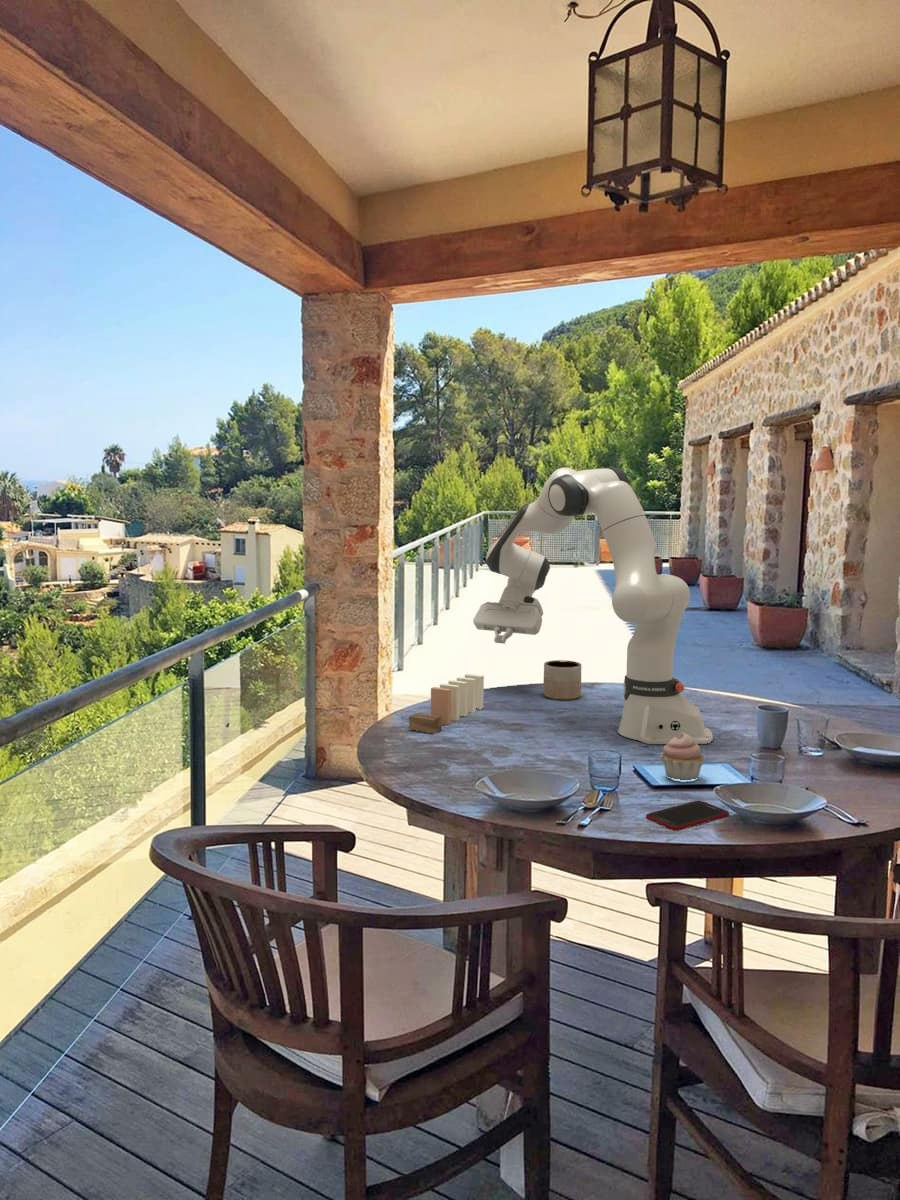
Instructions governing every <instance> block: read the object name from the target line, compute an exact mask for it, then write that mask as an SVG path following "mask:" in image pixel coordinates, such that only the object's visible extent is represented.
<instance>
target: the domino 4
mask: <svg viewBox="0 0 900 1200" xmlns="http://www.w3.org/2000/svg"><path fill="white" fill-rule="evenodd" d="M456 681H462V682H468V713H469V712H471V713H470V714H474V713H477V709H476V679H472V678H465V676H464V677H463V676H458V677H456Z"/></svg>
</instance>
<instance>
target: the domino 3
mask: <svg viewBox="0 0 900 1200" xmlns="http://www.w3.org/2000/svg"><path fill="white" fill-rule="evenodd" d="M447 684H451V685H459V686H460V714H459V717H462V716H464V718H465V716H466V717H468V716H467V715H469V714H468V713H469V712H468V682H462V681H457V680H452V679H451V680H448V682H447Z"/></svg>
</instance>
